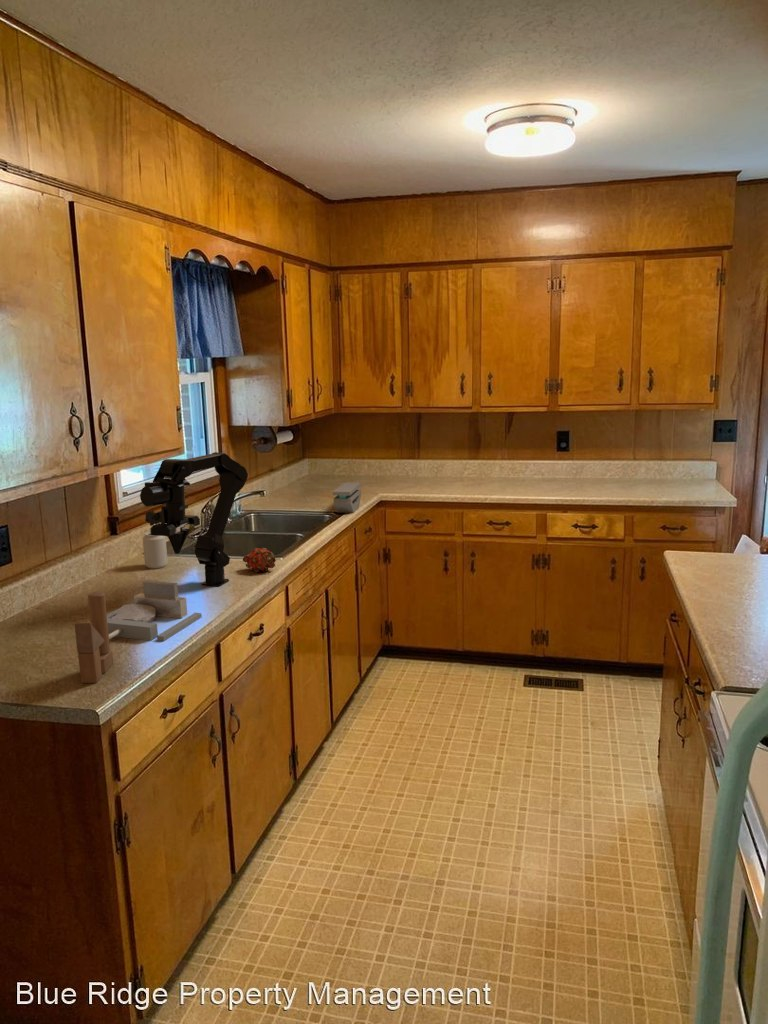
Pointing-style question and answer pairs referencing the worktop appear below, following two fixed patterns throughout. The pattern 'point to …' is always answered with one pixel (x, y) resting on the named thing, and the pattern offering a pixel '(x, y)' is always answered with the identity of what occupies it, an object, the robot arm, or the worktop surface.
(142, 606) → the stone block
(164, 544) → the can
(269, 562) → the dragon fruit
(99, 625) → the wooden block
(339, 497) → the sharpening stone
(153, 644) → the worktop surface
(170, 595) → the bar
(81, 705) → the worktop surface
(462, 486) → the worktop surface
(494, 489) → the worktop surface
